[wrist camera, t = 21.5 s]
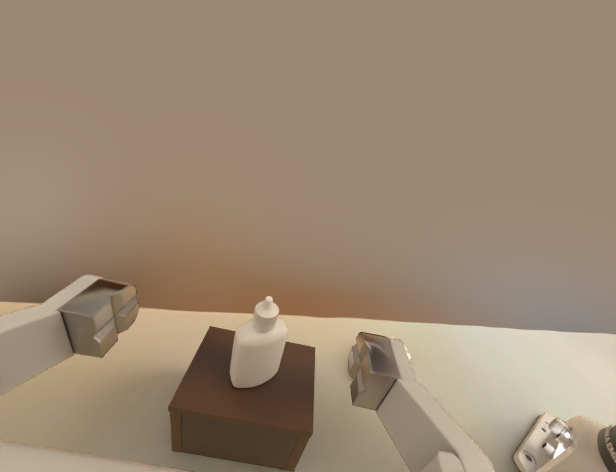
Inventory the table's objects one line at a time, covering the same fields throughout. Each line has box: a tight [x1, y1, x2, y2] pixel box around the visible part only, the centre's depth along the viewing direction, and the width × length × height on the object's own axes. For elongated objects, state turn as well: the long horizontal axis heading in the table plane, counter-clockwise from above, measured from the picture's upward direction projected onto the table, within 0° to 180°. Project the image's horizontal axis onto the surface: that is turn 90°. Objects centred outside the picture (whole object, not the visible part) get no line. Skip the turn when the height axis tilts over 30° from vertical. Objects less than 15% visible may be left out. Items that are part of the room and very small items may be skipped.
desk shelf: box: [168, 326, 315, 471], centre depth 32 cm, size 10×15×10 cm
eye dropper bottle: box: [230, 296, 288, 388], centre depth 27 cm, size 4×6×12 cm
